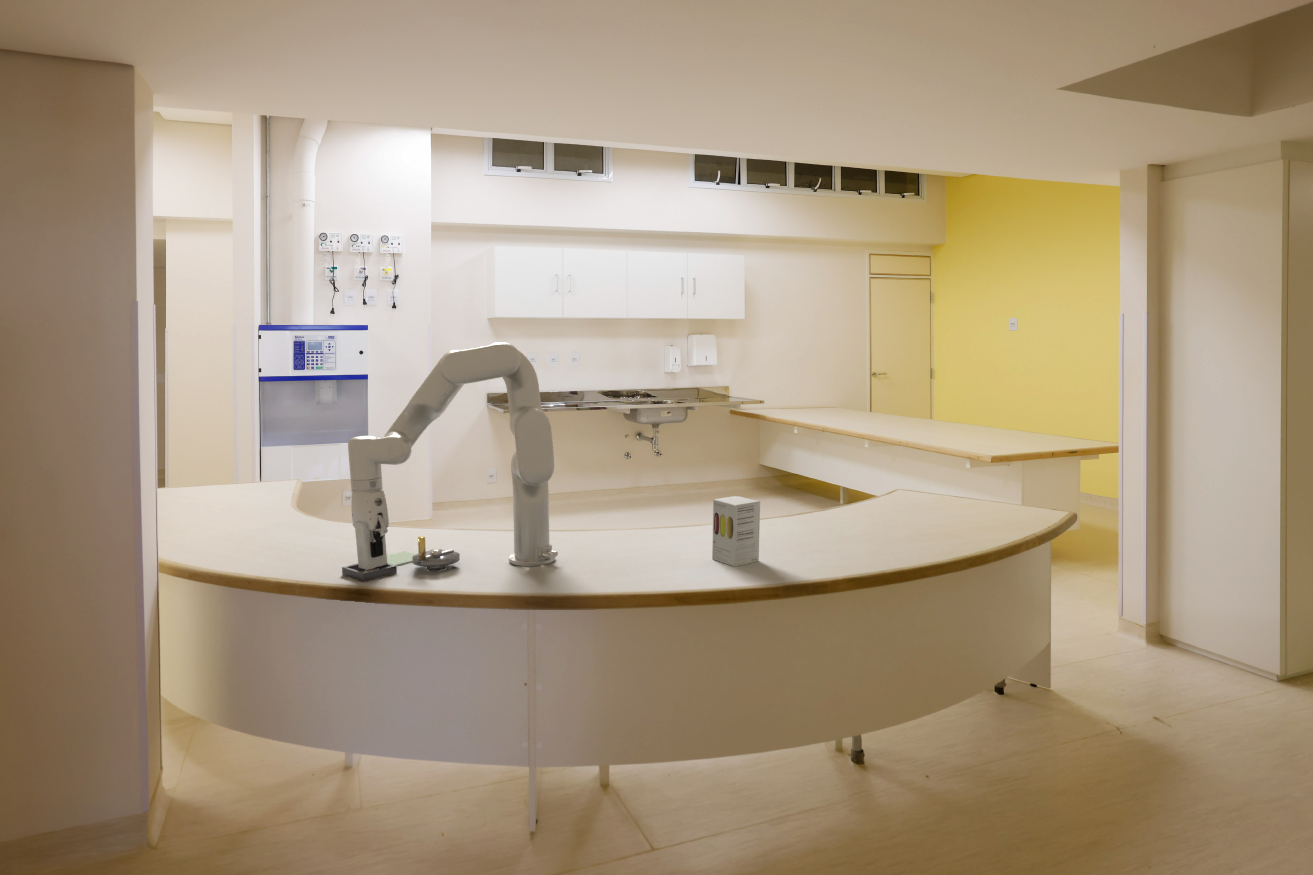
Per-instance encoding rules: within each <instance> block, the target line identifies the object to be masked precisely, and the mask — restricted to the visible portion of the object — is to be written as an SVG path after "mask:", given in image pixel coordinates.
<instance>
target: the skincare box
mask: <svg viewBox="0 0 1313 875" xmlns="http://www.w3.org/2000/svg"><path fill="white" fill-rule="evenodd" d="M375 528H376V529H378V526H377V527H375ZM354 530H355V539H356V540H355V541H356V553H357V564H358V566H359V568H362V569H366V570H365V571H368V570H372V569H377V568H376V567H379V566H383V565H386V564H387V555H388V553H387V544H386V542H387V541H386V534H385V535H384V540H382V541H383V555H382V556H378V557H375V558H372V557H371V547H370V542H372V540H371V535H370V530H367V526H366V524H365V523H361V522H355V528H354ZM374 533H375V535H376V533H378V531H376V532H374Z"/></svg>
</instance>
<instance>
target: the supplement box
mask: <svg viewBox="0 0 1313 875" xmlns="http://www.w3.org/2000/svg"><path fill="white" fill-rule="evenodd" d="M712 502H713V504H712V506H713V507H712V508H713V509H712V510H713V511H712V512H713V513H712V548H711V549H712V551H711V552H712V555H711V556H712V558H711V559H712V560H714V561H718V562H720V563H723V564H727V565H728V566H732V567H738V566H739V567H740V566H743V565H748V564H752V563H756V562H759V560H760V559H759V558H760V524H761V523H760V522H761V519H760V518H761V501H760V500H755V499H752V498H748V497H743V496H740V495H734V496H728V497H727V496H726V497H719V498H715V499H713V501H712Z"/></svg>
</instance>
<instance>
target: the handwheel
mask: <svg viewBox="0 0 1313 875" xmlns="http://www.w3.org/2000/svg"><path fill="white" fill-rule="evenodd" d="M417 548H418V549H417V550H418V553H415V554H416V555H414V556H413V557H412V562H411V563H412V564H413V565H415V566H417V567H422V568H423V567H425V568H427V567H439V566H446V567H447V566H451V565H453V564H456V563H459V561H460V559H461V558H460V557H461V556H460V553H459V552H458V551H455V550H454V549H453V548H450V549H441V548H432V549H430V550H427V549H426V536H417Z"/></svg>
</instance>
